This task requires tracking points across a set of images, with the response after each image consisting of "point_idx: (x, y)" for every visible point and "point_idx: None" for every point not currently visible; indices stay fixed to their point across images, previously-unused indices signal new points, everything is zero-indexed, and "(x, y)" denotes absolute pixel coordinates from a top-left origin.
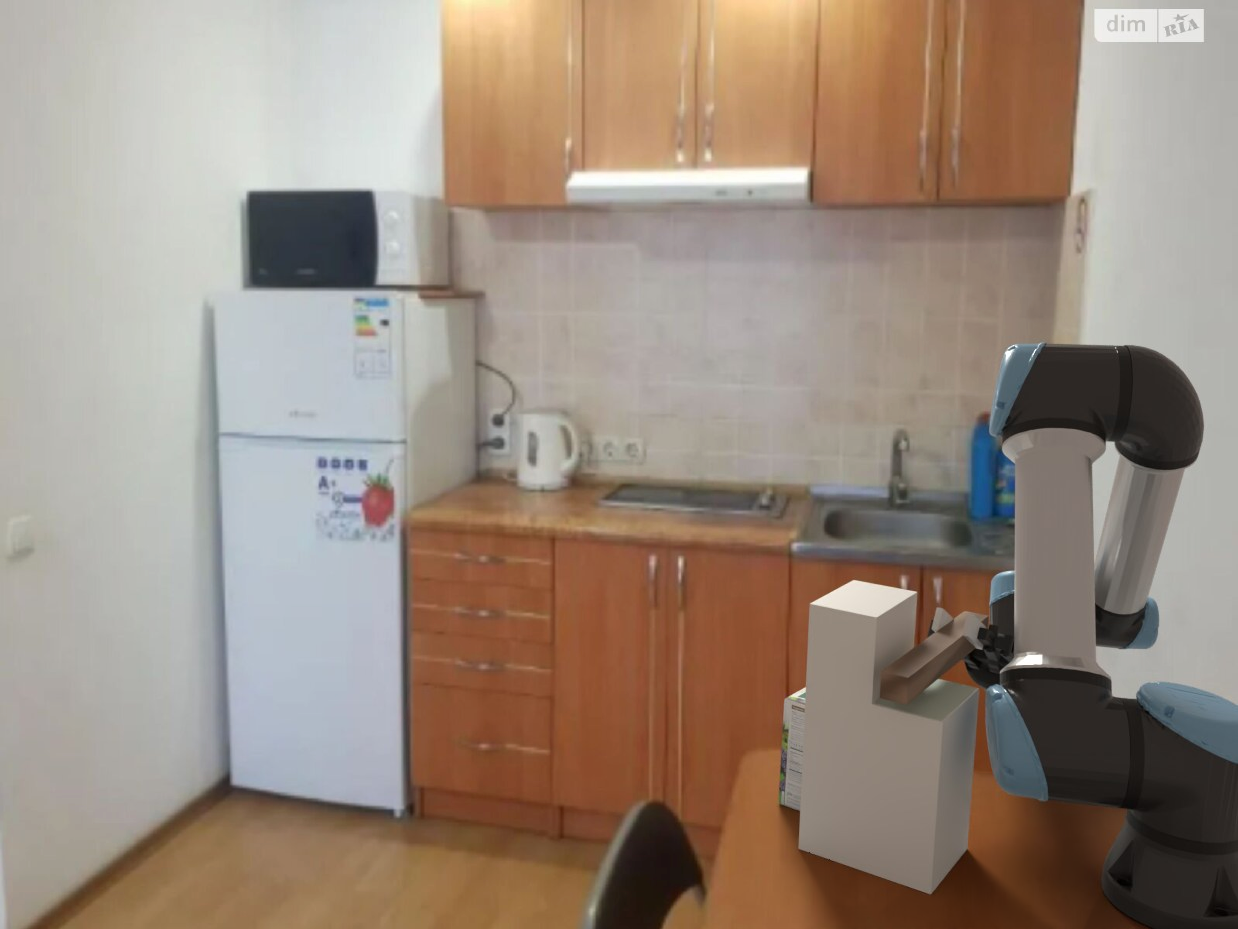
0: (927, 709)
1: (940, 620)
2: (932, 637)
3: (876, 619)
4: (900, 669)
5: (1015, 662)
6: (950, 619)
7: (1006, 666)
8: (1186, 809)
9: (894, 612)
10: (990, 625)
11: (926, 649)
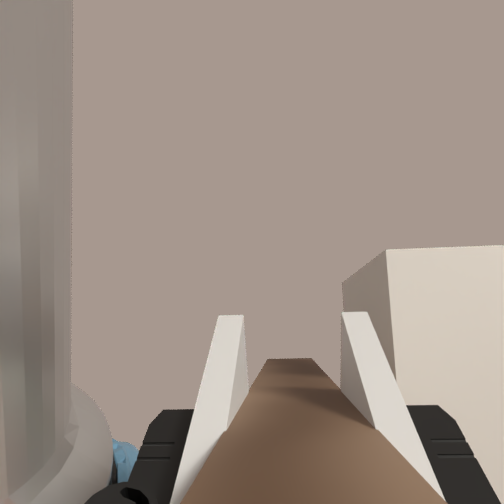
0: None
1: (341, 357)
2: (322, 381)
3: (342, 286)
4: (290, 360)
5: (81, 392)
6: (364, 404)
7: (101, 415)
8: None
9: (356, 287)
10: (148, 492)
11: (294, 371)
